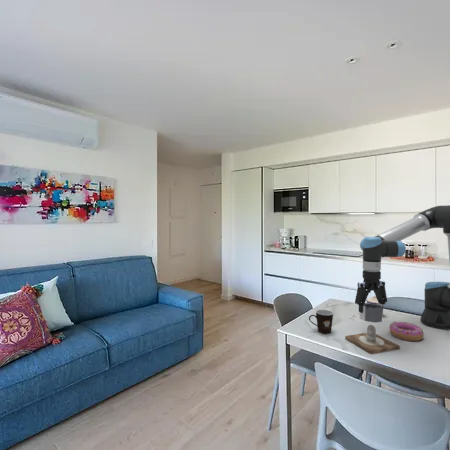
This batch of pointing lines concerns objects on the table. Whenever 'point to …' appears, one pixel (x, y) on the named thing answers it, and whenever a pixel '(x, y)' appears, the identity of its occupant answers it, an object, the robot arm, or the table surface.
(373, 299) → the teacup with lid
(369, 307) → the ring
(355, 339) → the post stand
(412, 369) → the table surface
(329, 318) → the coffee mug
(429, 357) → the table surface
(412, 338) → the donut
